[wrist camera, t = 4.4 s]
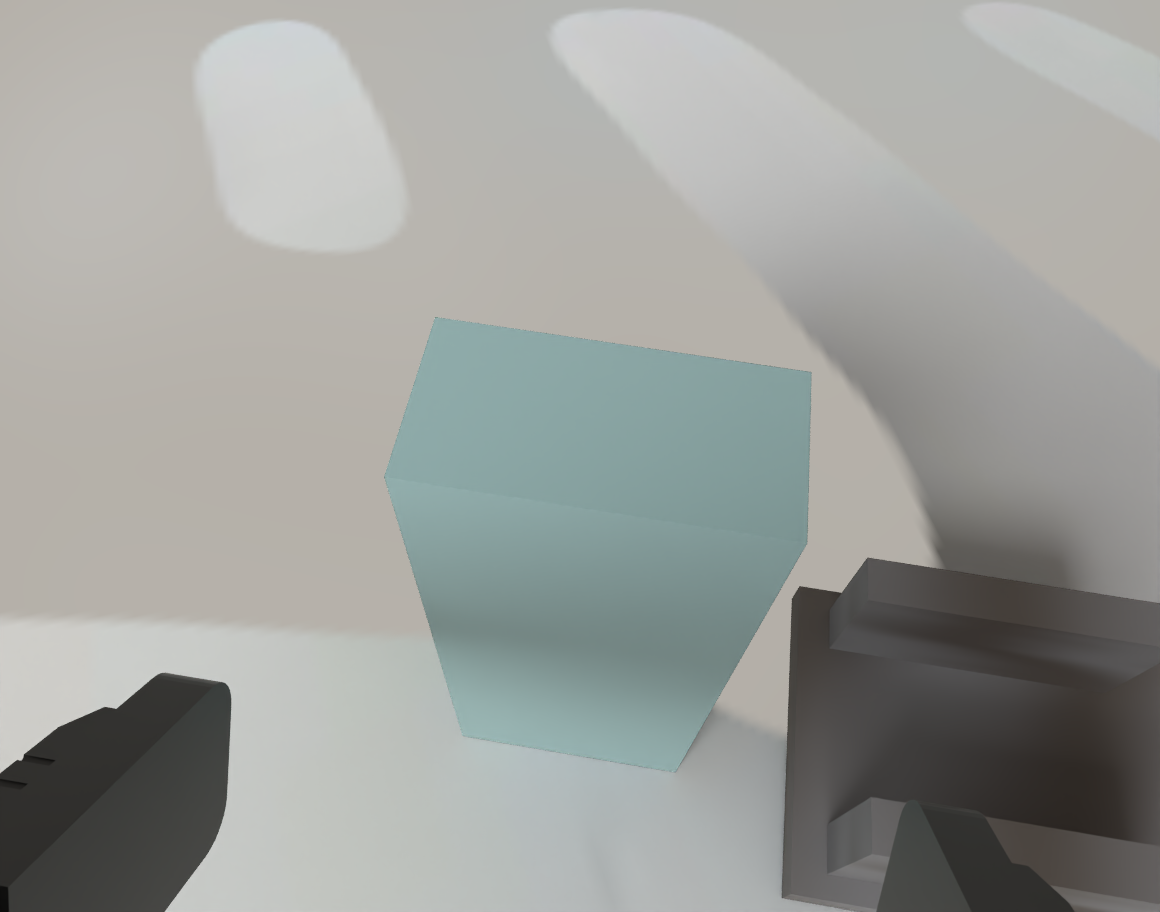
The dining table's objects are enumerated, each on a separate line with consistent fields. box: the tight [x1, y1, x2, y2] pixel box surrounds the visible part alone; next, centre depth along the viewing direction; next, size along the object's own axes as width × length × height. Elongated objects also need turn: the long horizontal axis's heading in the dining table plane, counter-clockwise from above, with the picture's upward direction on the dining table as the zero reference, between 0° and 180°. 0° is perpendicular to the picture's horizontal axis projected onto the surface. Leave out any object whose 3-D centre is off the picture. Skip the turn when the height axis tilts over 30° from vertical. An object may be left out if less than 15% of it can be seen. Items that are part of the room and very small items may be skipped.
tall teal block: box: [384, 317, 811, 772], centre depth 16 cm, size 5×3×12 cm
